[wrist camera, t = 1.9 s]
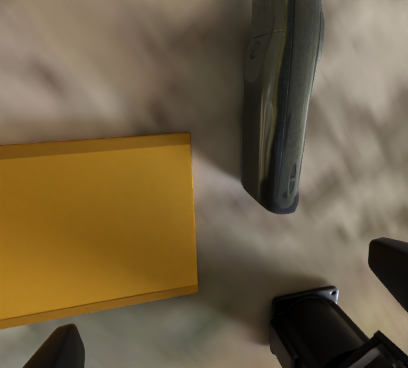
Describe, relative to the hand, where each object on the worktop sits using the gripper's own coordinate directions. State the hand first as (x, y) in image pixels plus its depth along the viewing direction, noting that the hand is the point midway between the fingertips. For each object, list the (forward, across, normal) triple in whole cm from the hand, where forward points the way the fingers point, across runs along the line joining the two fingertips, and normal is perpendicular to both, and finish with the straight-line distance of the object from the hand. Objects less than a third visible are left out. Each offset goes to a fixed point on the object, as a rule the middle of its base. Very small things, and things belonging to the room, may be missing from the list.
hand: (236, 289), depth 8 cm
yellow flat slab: (+13, +9, +3) cm, 16 cm away
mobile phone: (+13, -6, -5) cm, 15 cm away
